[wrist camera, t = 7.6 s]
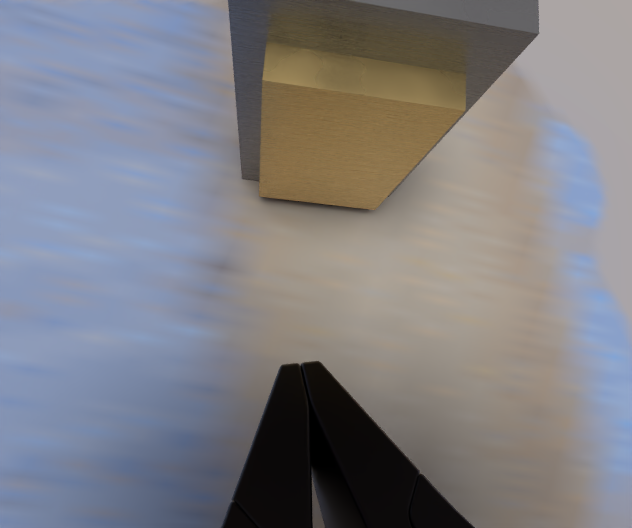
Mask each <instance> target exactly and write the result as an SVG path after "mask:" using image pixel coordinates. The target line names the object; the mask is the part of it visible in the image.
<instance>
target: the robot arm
mask: <svg viewBox="0 0 632 528" xmlns="http://www.w3.org/2000/svg"><path fill="white" fill-rule="evenodd" d="M311 473H312V477H311ZM419 473H420V472H419V470H418V469H417V468H416V467H415V466H414V464H413V463H412V462H411V461H410V460H409V459H408V458H407V457H406V456H405V455H404V453H403V452H402V451H401V450H400V449H399V448H398V447H397V446H396V445H395V444H394V442H393V441H392V440H391V439H390V438H389V437H388V436H387V435H386V434H385V433H384V431H383V430H382V429H381V428H380V427H379V426H378V425H377V424H376V423H375V422H374V420H373V419H372V418H371V417H370V416H369V415H368V414H367V413H366V412H365V411H364V409H363V408H362V407H361V406H360V405H359V404H358V403H357V402H356V401H355V400H354V399H353V397H352V396H351V395H350V394H349V393H348V392H347V391H346V390H345V389H344V388H343V386H342V385H341V384H340V383H339V382H338V381H337V380H336V379H335V378H334V377H333V375H332V374H331V373H330V372H329V371H328V370H327V369H326V368H325V367H324V366H323V364H322V363H321V362H319V361H313V362H304V363H302V364H301V365H299V364H298V363H293V364H284V365H281V367H280V368H279V371H278V374H277V376H276V379H275V382H274V385H273V387H272V390H271V393H270V396H269V398H268V401H267V404H266V407H265V409H264V412H263V415H262V418H261V420H260V423H259V426H258V429H257V431H256V434H255V437H254V440H253V442H252V445H251V448H250V451H249V453H248V456H247V459H246V462H245V464H244V467H243V470H242V473H241V475H240V478H239V481H238V484H237V486H236V489H235V492H234V495H233V497H232V502H231V503H230V505H229V508H228V511H227V513H226V516H225V519H224V521H223V524H222V527H221V528H313V524H312V478H313V482H314V486H315V490H316V493H317V497H318V501H319V505H320V509H321V513H322V517H323V521H324V525H325V528H475V527H474V526H473V525H471V524H470V523H469V522H468V521H467V520H466V519H465V518H464V517H463V516H462V515H461V514H460V513H459V512H458V511H457V510H456V509H455V508H454V507H453V506H452V505H451V504H450V503H449V502H448V501H447V500H446V499H445V498H444V497H443V496H442V495H441V494H440V493H439V492H438V491H437V490H436V489H435V487H434V486H433V485H432V484H431V483H430V482H429V481H428V480H427V478H426V477H425V476H424V475H423V474H420V475H419Z"/></svg>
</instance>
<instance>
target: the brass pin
mask: <svg viewBox="0 0 632 528" xmlns="http://www.w3.org/2000/svg"><path fill="white" fill-rule="evenodd" d="M465 111H466V74H462V73H456V72H450V71H443V70H437V69H431V68H425V67H419V66H412V65H406V64H400V63H394V62H387V61H381V60H375V59H369V58H363V57H356V56H350V55H344V54H338V53H331V52H325V51H319V50H313V49H307V48H300V47H294V46H288V45H282V44H275V43H269V42H266V51H265V60H264V69H263V78H262V109H261V145H260V181H259V196H260V197H269V198H277V199H286V200H294V201H303V202H311V203H320V204H328V205H336V206H345V207H353V208H362V209H370V210H375V209H376V208H377V207H378V206H379V205H380V204H381V203H382V202H383V201H384V199H385V198H386V197H387V196H388V195H389V194H390V193H391V192H392V191H393V190H394V189H395V187H396V186H397V185H398V184H399V183H400V182H401V181H402V180H403V179H404V178H405V176H406V175H407V174H408V173H409V172H410V171H411V170H412V169H413V168H414V167H415V165H416V164H417V163H418V162H419V161H420V160H421V159H422V158H423V157H424V156H425V154H426V153H427V152H428V151H429V150H430V149H431V148H432V147H433V146H434V145H435V144H436V142H437V141H438V140H439V139H440V138H441V137H442V136H443V135H444V134H445V133H446V131H447V130H448V129H449V128H450V127H451V126H452V125H453V124H454V123H455V122H456V120H457V119H458V118H459V117H460V116H461V115H462V114H463V113H464V112H465Z"/></svg>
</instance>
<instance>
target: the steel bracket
mask: <svg viewBox="0 0 632 528" xmlns="http://www.w3.org/2000/svg"><path fill="white" fill-rule="evenodd" d="M228 5H229V18H230V31H231V43H232V56H233V69H234V81H235V94H236V107H237V119H238V132H239V145H240V157H241V170H242V179H249V180H257V181H260V145H261V109H262V78H263V69H264V60H265V51H266V42H269V43H275V44H282V45H288V46H294V47H300V48H307V49H313V50H319V51H325V52H331V53H338V54H344V55H350V56H356V57H363V58H369V59H375V60H381V61H387V62H394V63H400V64H406V65H412V66H419V67H425V68H431V69H437V70H443V71H450V72H456V73H462V74H466V111H465V112H464V113H463V114H462V115H461V116H460V117H459V118H458V119H457V120H456V122H455V123H454V124H453V125H452V126H451V127H450V128H449V129H448V130H447V131H446V133H445V134H444V135H443V136H442V137H441V138H440V139H439V140H438V141H437V142H436V144H435V145H434V146H433V147H432V148H431V149H430V150H429V151H428V152H427V153H426V154H425V156H424V157H423V158H422V159H421V160H420V161H419V162H418V163H417V164H416V165H415V167H414V168H413V169H412V170H411V171H410V172H409V173H408V174H407V175H406V176H405V178H406V177H407V176H408V175H409V174H410V173H411V172H412V171H413V170H414V169H415V168H416V167H417V165H418V164H419V163H420V162H421V161H422V160H423V159H424V158H425V157H426V156H427V155H428V154H429V152H430V151H431V150H432V149H433V148H434V147H435V146H436V145H437V144H438V143H439V142H440V141H441V139H442V138H443V137H444V136H445V135H446V134H447V133H448V132H449V131H450V130H451V129H452V128H453V126H454V125H455V124H456V123H457V122H458V121H459V120H460V119H461V118H462V117H463V116H464V115H465V113H466V112H467V111H468V110H469V109H470V108H471V107H472V106H473V105H474V104H475V103H476V102H477V100H478V99H479V98H480V97H481V96H482V95H483V94H484V93H485V92H486V91H487V90H488V89H489V87H490V86H491V85H492V84H493V83H494V82H495V81H496V80H497V79H498V78H499V77H500V76H501V74H502V73H503V72H504V71H505V70H506V69H507V68H508V67H509V66H510V65H511V64H512V63H513V61H514V60H515V59H516V58H517V57H518V56H519V55H520V54H521V53H522V52H523V50H525V48H526V47H527V46H528V45H529V44H530V43H531V42H532V41H533V40H534V38H536V36H537V35H538V34H539V16H538V15H539V14H538V13H539V11H538V0H228ZM405 178H404V179H403V180H402V181H401V182H400V183H399V184H398V185H397V186H396V187H395V189H396V188H397V187H398V186H399V185H400V184H401V183H402V182H403V181H404V180H405ZM395 189H394V190H395ZM394 190H393V191H392V192H391V193H390V194H389V195H388V197H389V196H390V195H391V194H392V193H393V192H394Z"/></svg>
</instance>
